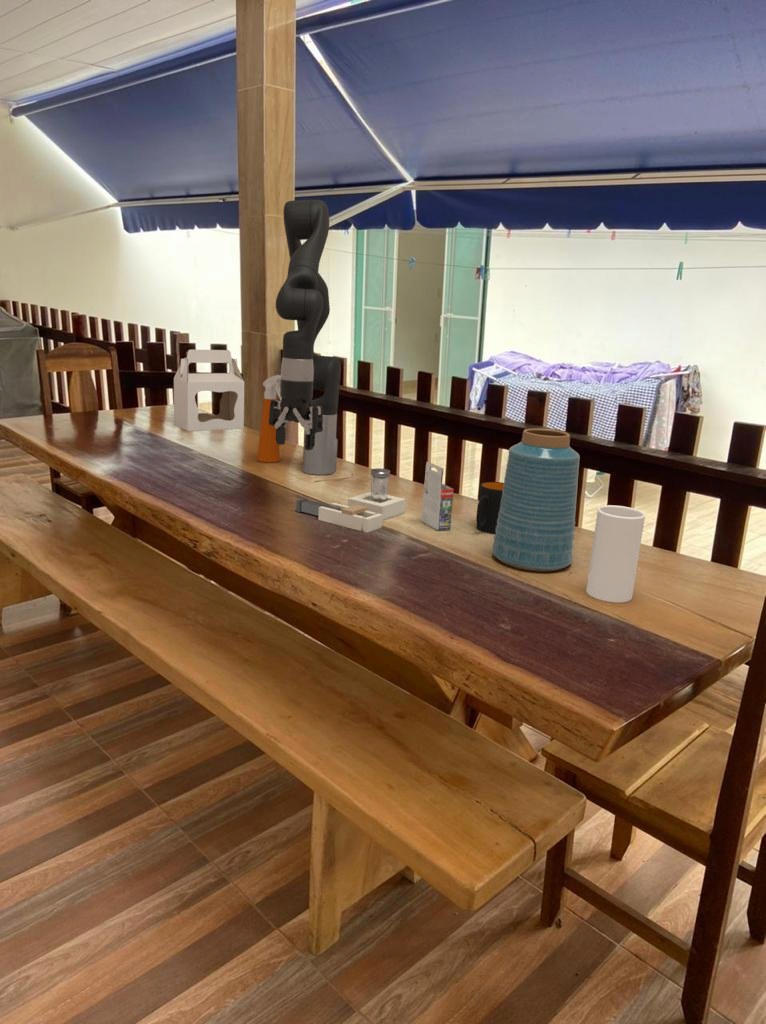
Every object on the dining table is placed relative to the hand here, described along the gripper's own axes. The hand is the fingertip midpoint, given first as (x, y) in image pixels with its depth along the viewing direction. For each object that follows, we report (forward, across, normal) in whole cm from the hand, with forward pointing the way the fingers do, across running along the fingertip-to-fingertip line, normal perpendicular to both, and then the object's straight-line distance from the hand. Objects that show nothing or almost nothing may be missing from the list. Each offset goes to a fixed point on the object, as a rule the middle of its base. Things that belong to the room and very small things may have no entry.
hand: (294, 447), depth 184 cm
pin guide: (+15, -17, +1) cm, 23 cm away
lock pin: (+15, -9, +1) cm, 17 cm away
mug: (+15, -44, -17) cm, 50 cm away
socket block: (+15, -17, -11) cm, 25 cm away
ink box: (+15, -33, -11) cm, 38 cm away
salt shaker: (+14, -18, -10) cm, 25 cm away
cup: (+15, -79, +5) cm, 81 cm away
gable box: (+15, +91, -64) cm, 113 cm away
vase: (+15, -60, -4) cm, 62 cm away
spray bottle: (+15, +37, -36) cm, 54 cm away
